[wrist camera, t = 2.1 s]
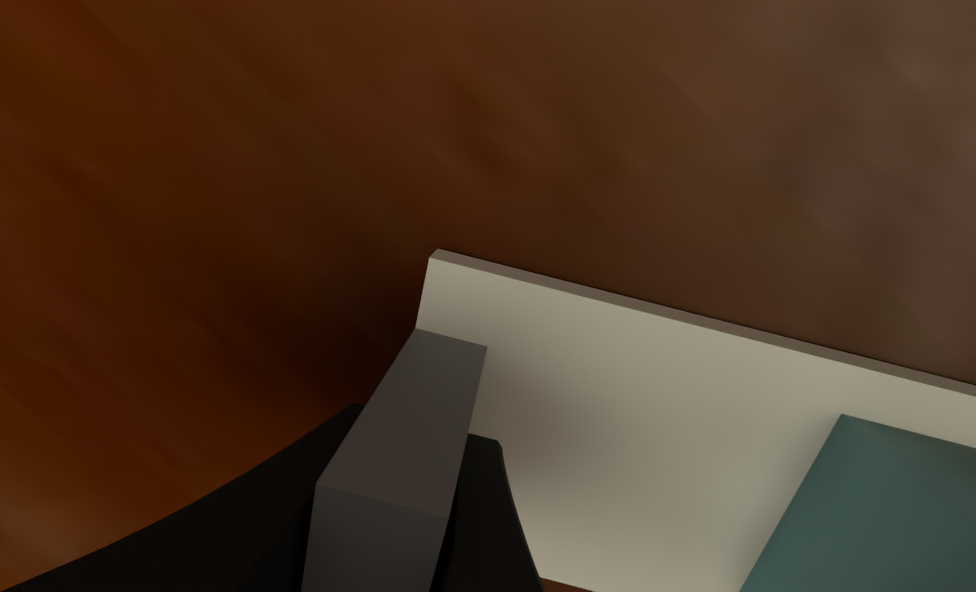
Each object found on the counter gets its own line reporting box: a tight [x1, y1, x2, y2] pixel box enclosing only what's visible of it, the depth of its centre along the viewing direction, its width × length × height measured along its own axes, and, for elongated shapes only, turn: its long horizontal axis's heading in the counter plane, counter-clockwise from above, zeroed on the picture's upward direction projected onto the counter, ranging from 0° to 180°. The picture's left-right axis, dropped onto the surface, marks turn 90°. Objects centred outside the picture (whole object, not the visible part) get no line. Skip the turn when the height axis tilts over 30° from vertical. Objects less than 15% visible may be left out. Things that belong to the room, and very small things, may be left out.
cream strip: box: [301, 249, 976, 592], centre depth 8 cm, size 14×7×5 cm, turn 77°
